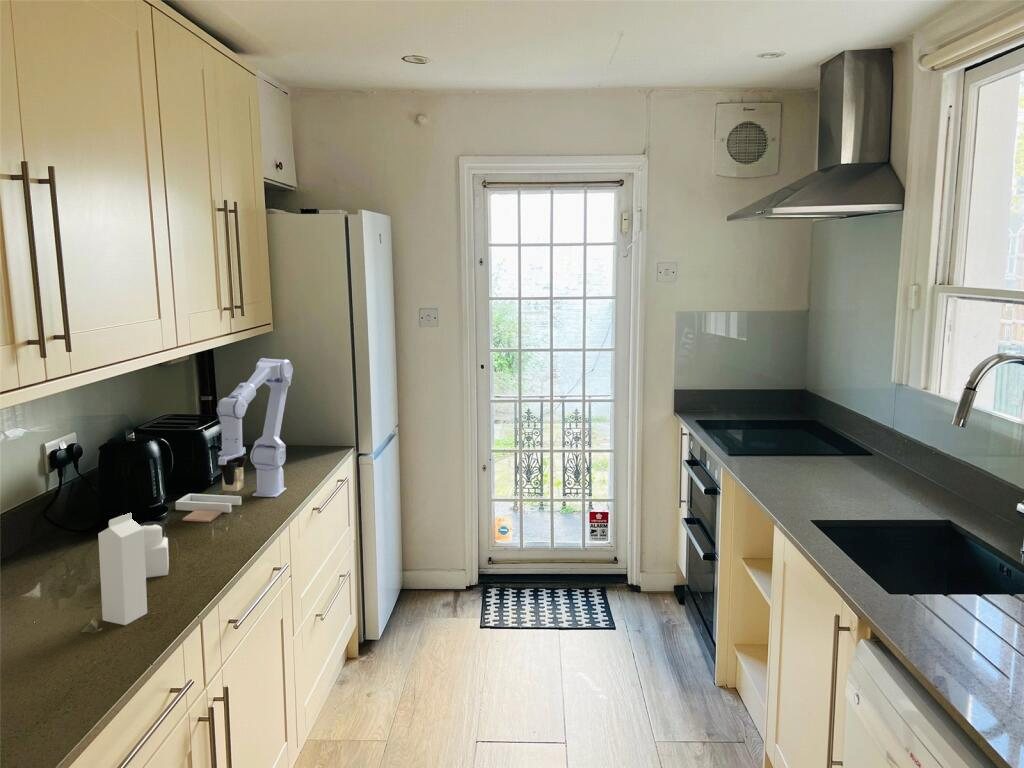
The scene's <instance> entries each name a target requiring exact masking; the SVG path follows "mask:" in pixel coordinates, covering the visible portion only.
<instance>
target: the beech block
mask: <svg viewBox="0 0 1024 768" xmlns="http://www.w3.org/2000/svg"><path fill="white" fill-rule="evenodd" d="M221 476H222V478H221V481H222V491H231V492H232V491H233V492H238V491H239V490H241V489H242V488H244V487H245V486H244V467H236V470H235V475H234V483H233V485H225V481H224V478H223V475H221Z"/></svg>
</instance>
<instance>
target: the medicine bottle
mask: <svg viewBox="0 0 1024 768" xmlns="http://www.w3.org/2000/svg"><path fill="white" fill-rule="evenodd" d="M139 525H140V526H141V527H143V528H144V548H145V571H146V579H149V578H154V577H164V576H168V575H169V567H170V566H169V565H170V563H169V562H170V561H169V560H170V558H169V538H168V537H166V534H165V524H164V523H163V522H160V521H153V520H152V521H146V522H144V523H141V524H139Z"/></svg>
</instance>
